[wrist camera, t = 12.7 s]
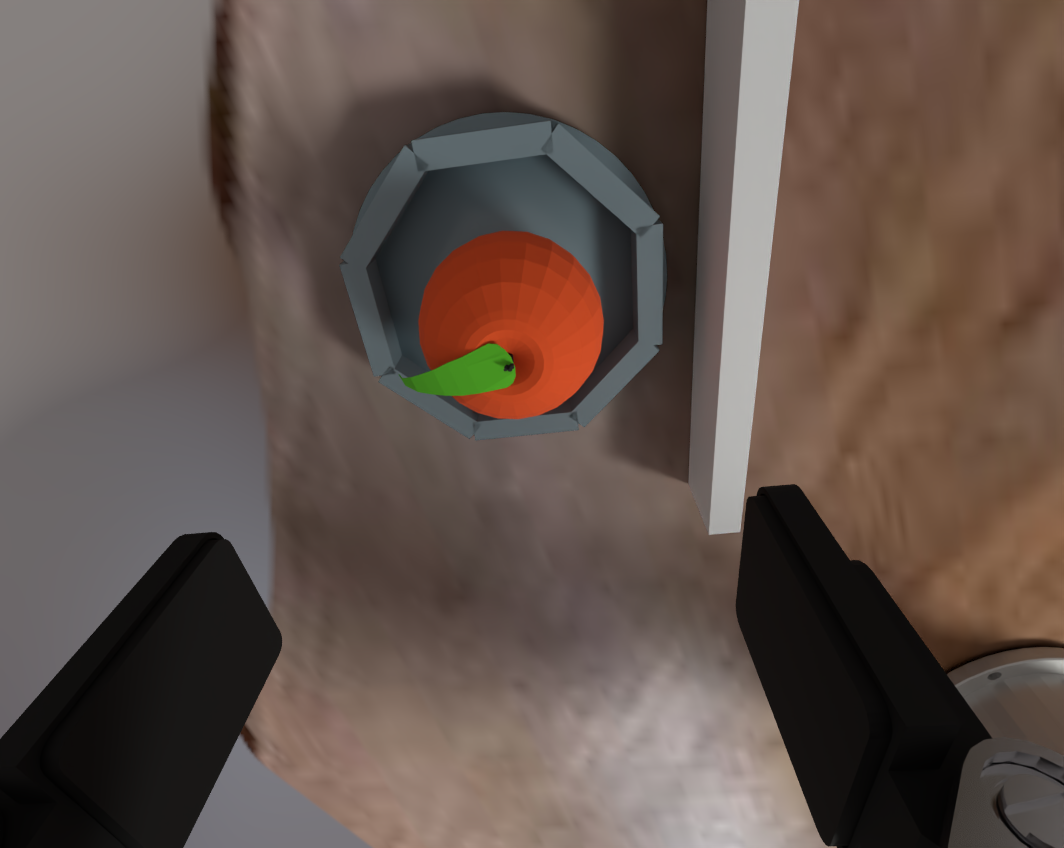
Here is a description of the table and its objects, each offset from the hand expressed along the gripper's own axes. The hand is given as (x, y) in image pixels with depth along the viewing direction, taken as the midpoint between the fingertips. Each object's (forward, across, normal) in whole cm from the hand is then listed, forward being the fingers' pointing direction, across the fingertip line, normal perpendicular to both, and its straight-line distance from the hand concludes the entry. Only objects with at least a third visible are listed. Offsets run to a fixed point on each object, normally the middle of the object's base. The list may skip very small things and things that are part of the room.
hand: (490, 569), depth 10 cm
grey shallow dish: (+16, 0, -1) cm, 16 cm away
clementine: (+16, +1, 0) cm, 16 cm away
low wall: (+16, -8, -1) cm, 18 cm away
